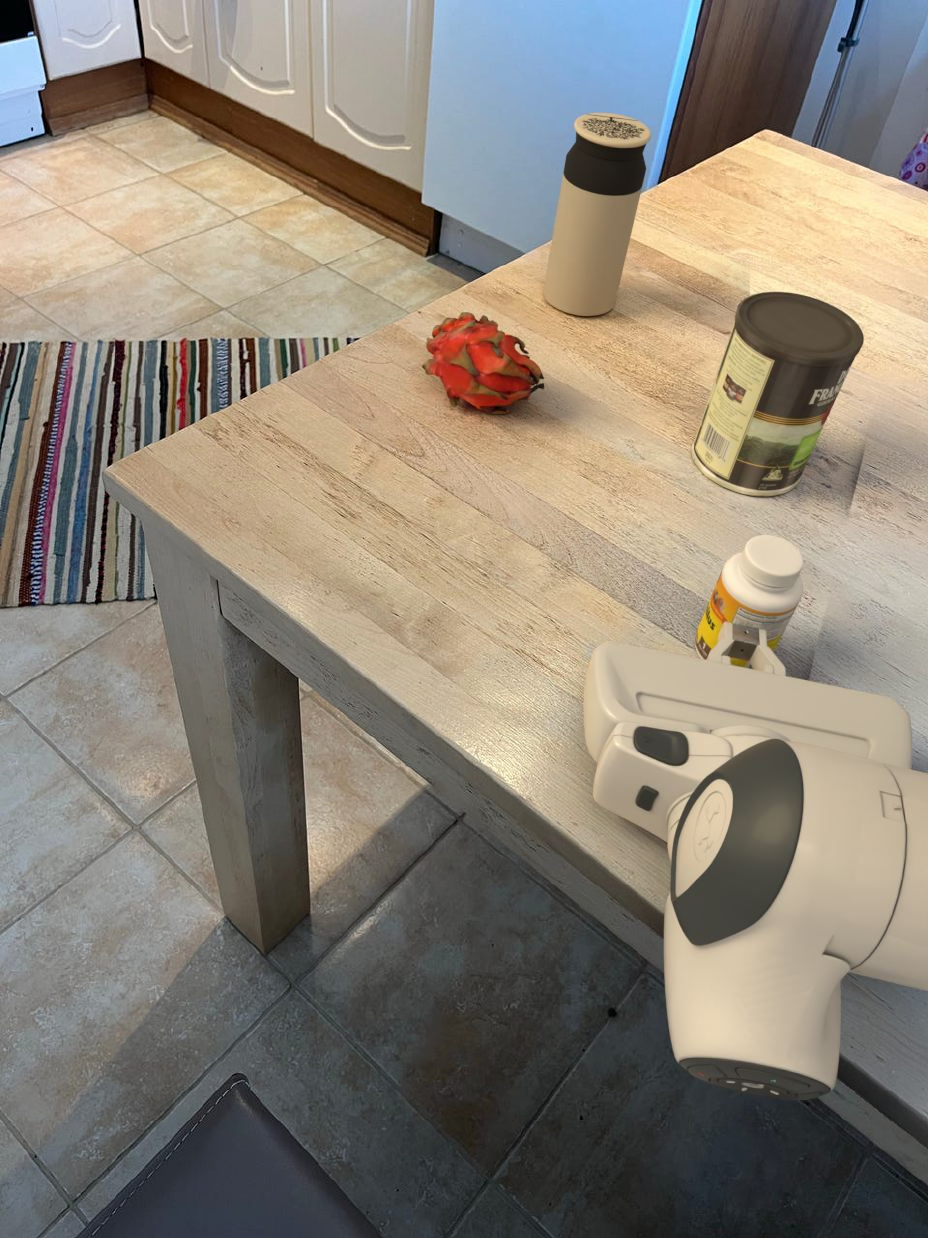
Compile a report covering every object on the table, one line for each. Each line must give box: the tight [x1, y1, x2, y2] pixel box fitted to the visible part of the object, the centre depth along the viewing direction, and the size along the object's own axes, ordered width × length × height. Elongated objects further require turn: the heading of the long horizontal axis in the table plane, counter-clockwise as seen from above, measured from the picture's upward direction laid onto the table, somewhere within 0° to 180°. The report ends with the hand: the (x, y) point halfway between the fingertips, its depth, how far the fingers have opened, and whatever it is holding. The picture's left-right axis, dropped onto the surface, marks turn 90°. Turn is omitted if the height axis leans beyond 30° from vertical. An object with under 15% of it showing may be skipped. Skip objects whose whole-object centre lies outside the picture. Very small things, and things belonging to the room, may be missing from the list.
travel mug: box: [542, 112, 652, 317], centre depth 97 cm, size 8×8×18 cm
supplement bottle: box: [694, 534, 805, 669], centre depth 67 cm, size 6×6×10 cm
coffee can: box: [690, 291, 865, 498], centre depth 82 cm, size 10×10×14 cm
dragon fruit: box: [421, 311, 549, 415], centre depth 87 cm, size 8×8×12 cm
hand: (741, 631), depth 65 cm, fingers closed
